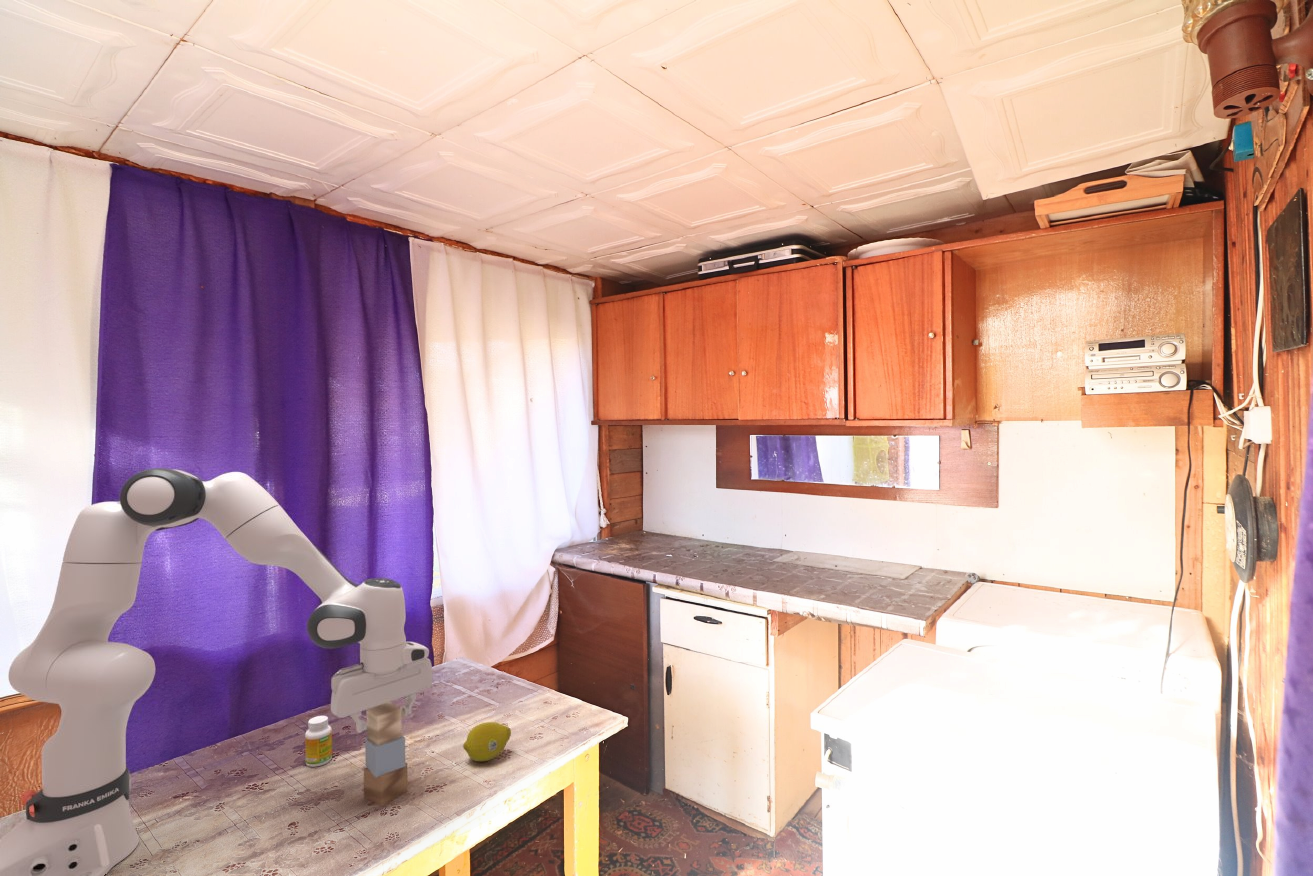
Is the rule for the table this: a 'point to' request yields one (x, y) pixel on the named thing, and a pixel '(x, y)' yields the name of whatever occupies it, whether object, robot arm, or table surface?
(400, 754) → the top block
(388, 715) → the maple block
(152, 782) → the table surface
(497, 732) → the lemon
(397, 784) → the bottom block
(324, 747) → the supplement bottle
